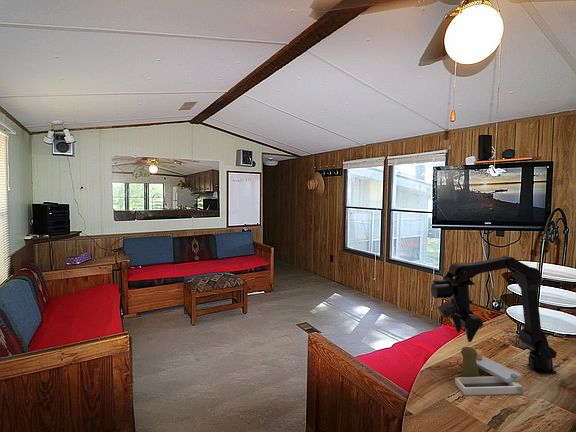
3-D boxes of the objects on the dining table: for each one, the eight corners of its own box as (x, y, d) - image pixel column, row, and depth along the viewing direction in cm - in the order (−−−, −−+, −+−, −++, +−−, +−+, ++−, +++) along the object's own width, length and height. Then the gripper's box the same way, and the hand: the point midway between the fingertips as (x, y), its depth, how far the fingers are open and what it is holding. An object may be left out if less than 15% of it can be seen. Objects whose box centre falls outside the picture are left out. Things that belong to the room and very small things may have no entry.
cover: (524, 379, 110) (524, 367, 110) (509, 384, 108) (508, 371, 108) (480, 357, 128) (479, 347, 128) (466, 361, 126) (465, 350, 126)
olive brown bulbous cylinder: (482, 381, 116) (480, 352, 115) (464, 381, 117) (462, 351, 117) (476, 373, 121) (474, 345, 121) (459, 372, 123) (457, 344, 123)
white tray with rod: (510, 382, 114) (509, 375, 114) (523, 394, 107) (522, 386, 107) (455, 384, 115) (454, 377, 115) (464, 395, 108) (464, 388, 108)
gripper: (430, 291, 132) (433, 328, 132) (449, 304, 113) (452, 348, 113) (458, 290, 131) (460, 327, 131) (482, 303, 112) (485, 347, 112)
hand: (463, 336), depth 122 cm, fingers open, 9 cm apart
